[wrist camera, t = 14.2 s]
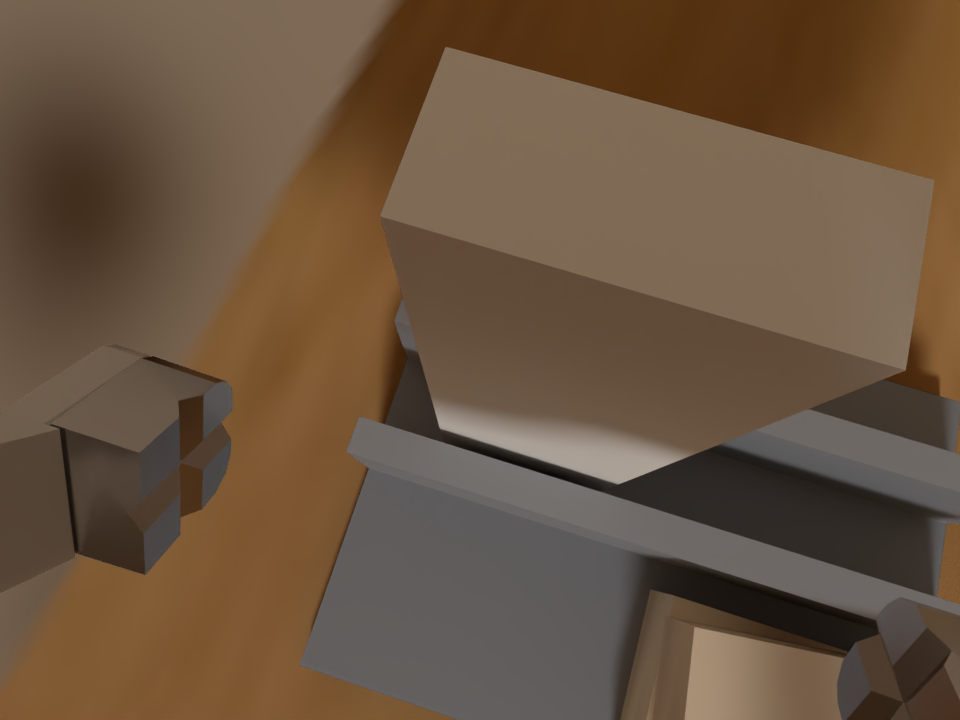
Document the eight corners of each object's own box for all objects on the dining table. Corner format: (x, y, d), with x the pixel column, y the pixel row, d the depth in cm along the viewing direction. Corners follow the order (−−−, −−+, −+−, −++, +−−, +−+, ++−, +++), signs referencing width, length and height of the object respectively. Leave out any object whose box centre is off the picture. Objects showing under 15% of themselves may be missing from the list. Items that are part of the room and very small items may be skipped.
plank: (610, 434, 22) (934, 179, 7) (594, 494, 22) (905, 371, 6) (463, 389, 22) (444, 46, 7) (445, 446, 22) (379, 215, 6)
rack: (941, 408, 23) (1063, 373, 19) (881, 855, 20) (1013, 955, 15) (446, 262, 25) (440, 194, 20) (307, 659, 21) (258, 694, 16)
